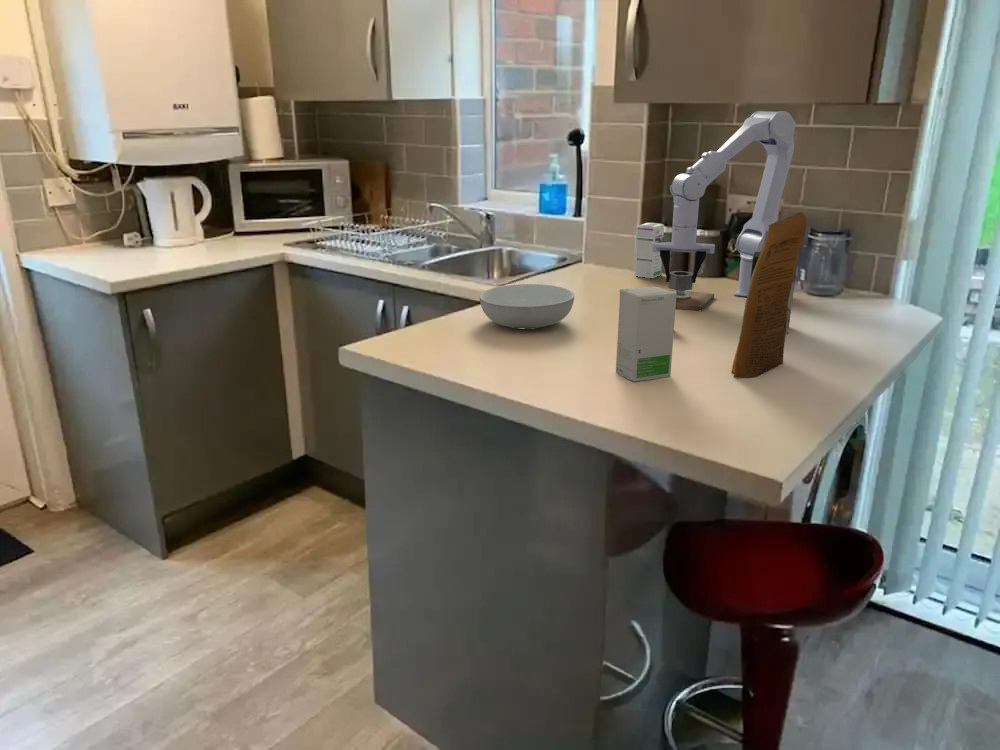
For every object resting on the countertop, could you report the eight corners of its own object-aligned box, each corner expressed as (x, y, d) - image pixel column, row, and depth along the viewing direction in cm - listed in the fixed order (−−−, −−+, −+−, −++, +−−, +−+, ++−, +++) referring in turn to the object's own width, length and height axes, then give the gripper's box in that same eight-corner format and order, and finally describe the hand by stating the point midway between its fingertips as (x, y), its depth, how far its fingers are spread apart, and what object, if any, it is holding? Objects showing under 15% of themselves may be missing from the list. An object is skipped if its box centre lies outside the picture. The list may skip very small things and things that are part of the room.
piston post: (692, 296, 193) (693, 280, 192) (687, 300, 189) (688, 284, 187) (671, 293, 195) (672, 278, 194) (666, 298, 191) (667, 282, 190)
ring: (691, 285, 193) (692, 271, 192) (692, 290, 188) (693, 276, 187) (668, 284, 194) (669, 270, 193) (668, 289, 189) (669, 275, 188)
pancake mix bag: (802, 361, 148) (821, 211, 139) (752, 386, 136) (770, 224, 126) (769, 353, 153) (785, 208, 144) (718, 377, 140) (732, 219, 131)
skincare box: (633, 383, 138) (637, 296, 132) (613, 371, 143) (617, 288, 138) (672, 376, 141) (678, 291, 136) (651, 365, 147) (656, 284, 141)
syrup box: (652, 279, 216) (656, 226, 211) (633, 276, 219) (636, 224, 214) (662, 275, 220) (665, 223, 215) (643, 273, 224) (646, 221, 219)
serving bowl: (514, 307, 188) (514, 279, 186) (590, 320, 177) (591, 290, 174) (460, 327, 172) (460, 297, 170) (541, 343, 161) (541, 310, 158)
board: (714, 297, 195) (714, 293, 195) (701, 310, 184) (702, 306, 183) (659, 292, 201) (659, 288, 201) (643, 304, 189) (643, 300, 189)
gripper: (715, 223, 189) (710, 279, 193) (654, 222, 191) (650, 277, 196) (717, 228, 182) (712, 285, 187) (653, 226, 185) (650, 283, 189)
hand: (680, 281), depth 191 cm, fingers closed on ring, 5 cm apart
